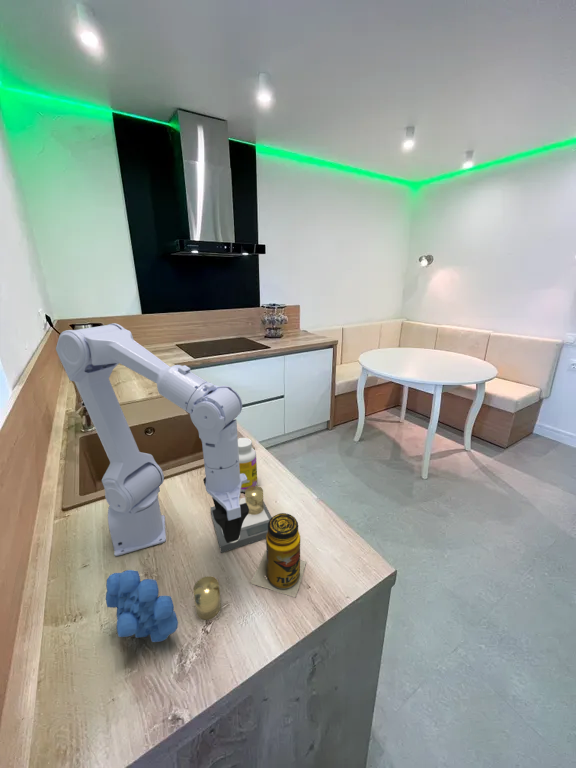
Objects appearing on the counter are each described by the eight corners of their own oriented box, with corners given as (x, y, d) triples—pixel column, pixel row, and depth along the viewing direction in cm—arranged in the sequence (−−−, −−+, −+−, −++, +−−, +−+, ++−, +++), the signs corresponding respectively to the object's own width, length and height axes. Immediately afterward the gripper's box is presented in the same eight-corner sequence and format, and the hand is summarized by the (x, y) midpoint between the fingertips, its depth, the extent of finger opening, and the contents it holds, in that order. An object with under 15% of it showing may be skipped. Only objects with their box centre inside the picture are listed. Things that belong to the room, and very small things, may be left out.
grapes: (92, 652, 45) (74, 592, 41) (127, 607, 51) (113, 552, 47) (161, 678, 42) (148, 616, 38) (189, 627, 48) (180, 569, 44)
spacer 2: (265, 511, 69) (265, 494, 67) (248, 516, 68) (247, 499, 66) (260, 500, 72) (260, 484, 71) (244, 505, 71) (243, 488, 70)
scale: (221, 553, 61) (220, 544, 60) (211, 513, 72) (210, 505, 71) (277, 534, 66) (277, 526, 65) (260, 499, 76) (259, 491, 75)
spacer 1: (197, 624, 49) (194, 603, 47) (194, 601, 52) (191, 581, 51) (223, 614, 50) (221, 593, 49) (218, 592, 54) (216, 572, 52)
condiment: (295, 597, 53) (296, 543, 49) (250, 584, 55) (247, 531, 51) (306, 562, 59) (307, 511, 55) (265, 551, 62) (263, 502, 58)
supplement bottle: (255, 493, 78) (253, 449, 74) (229, 493, 78) (226, 448, 74) (258, 477, 85) (257, 435, 80) (234, 477, 85) (231, 435, 81)
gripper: (258, 477, 47) (261, 547, 51) (234, 435, 59) (238, 494, 64) (211, 489, 44) (218, 562, 48) (196, 443, 57) (203, 503, 61)
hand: (227, 524), depth 56 cm, fingers open, 7 cm apart
